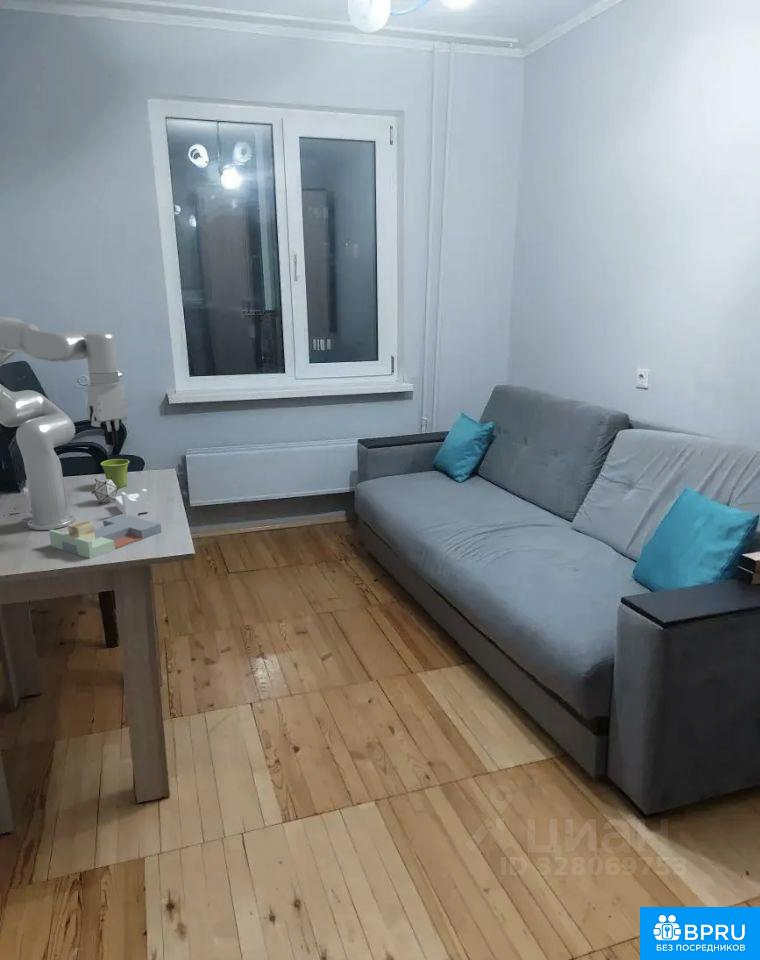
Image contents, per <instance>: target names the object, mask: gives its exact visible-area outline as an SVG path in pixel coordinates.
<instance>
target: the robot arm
mask: <svg viewBox="0 0 760 960" xmlns="http://www.w3.org/2000/svg"><path fill="white" fill-rule="evenodd" d="M116 346H117V345H116V340H115V335H114V334H112V333H111V332H107V331H106V332H105V331H103V332H102V331H101V332H100V331H99V332H90V331H84V330H83V331H82V330H78V331H77V330H76V331H67V332H65V331H64V332H56V333H55V332H47V331H43V330H42V331H41V330H40V329H39V328H38V326H37V325H35V324H34V323H31V322H26V321H22V320H21V319H19V318H17V317H15V316H0V367H1V366H3V365H4V364H5V363H6V362H8V361H9V360H10V359H11V358H12V357H13V356H14V355H15V354H16V353H19V354H24V355H27V356H28V357H30V358H33V359H37V360H39V361H40V360H42V361H47V362H48V361H49V362H56V363H67V362H72V361H79V360H85V359H86V360H87V369H88V370H87V371H88V377H89V384H88V385H87V388H86V413H87V415H86V416H87V419H88V420H89V421H91V423H90V425H91V426H92V427H96V428H100V429H101V431H103V433H104V441H105V444H106V446H107V445H108V446H112V447H113V446H117V445H119V437H118V436H119V435H118V431H119V429H120V426H121V424H122V423H124V422H126V421H128V417H127V415H128V405H127V399H126V393H125V389H124V386H123V384H122V382H120V378H122V375H123V374H122V372H120V371H119V365H118V359H117V358H118V356H117V355H118V354H117V348H116ZM0 424H1V425H2V426H4V427H7V428H13V427H17V429H16V432H15V433H16V434H15V439H16V443H17V445H18V448H19V450H20V454H21V457H22V460H23V466H24V473H25V477H26V482H27V483H26V484H27V489H28V490H27V491H28V496H29V502H30V509H28V513H29V514H31V517H32V518H31V519H29V521H28V522H27V527H28V528H29V529H31V530H36V531H49V530H52V529H53V530H56V529H60V528H63V527H68V525H70V524H73V523H75V519H76V518H75V516H74V515H73V514H71V513H69V510H68V504H67V497H66V488H65V482H64V476H63V475H64V474H63V469H62V464H61V463H62V462H61V460H60V458H59V456H58V455H57V452H56V451H55V449H54V448H56V447H60V446H63V445H65V444H67V443H69V442H71V441H72V440H73V438H74V437H75V435H76V426H75V424H74V422H73V420H72V419H71V418H70V417H69V416H68V415H67V414H66V413H65V412H64V411H62V409H60V408H59V407H58V406H57V405H55V403H53V402H52V401H51V400H49V399H48V397H46V396H45V395H43V394H42V393H39V392H38V391H35V390H32V389H26V390H20V391H11V390H9V389H8V388H7V387H5V386H4V385H2V384H1V383H0Z"/></svg>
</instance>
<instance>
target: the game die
mask: <svg viewBox="0 0 760 960" xmlns="http://www.w3.org/2000/svg"><path fill="white" fill-rule="evenodd" d="M111 479H112V477H111ZM111 479H106V478H105V479H97V478H95V479H94V481H95V485H94V488H93V490H92V491H91V493H90V494H91V495H94V496H95V497H96V499H97V500H98V501H99V502H98V505H101V504H102V503H103V502H104V503H105V502H115V497H117V494H118V490H119V489H121V487H118V488H117V486H116V485H115V484H114V482H113V481H112V480H111Z"/></svg>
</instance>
